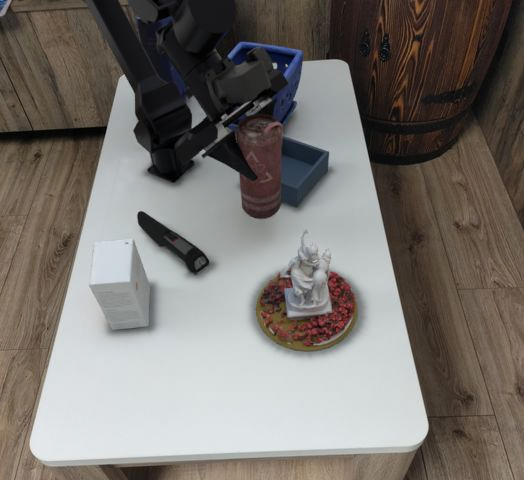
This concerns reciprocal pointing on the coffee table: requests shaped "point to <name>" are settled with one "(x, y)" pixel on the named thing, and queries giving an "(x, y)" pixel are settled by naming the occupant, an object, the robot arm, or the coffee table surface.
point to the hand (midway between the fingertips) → (267, 169)
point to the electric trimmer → (173, 243)
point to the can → (261, 164)
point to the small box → (120, 284)
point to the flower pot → (291, 73)
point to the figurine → (307, 303)
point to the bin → (300, 169)
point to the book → (159, 61)
